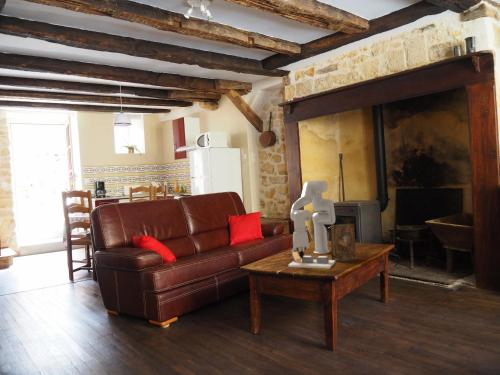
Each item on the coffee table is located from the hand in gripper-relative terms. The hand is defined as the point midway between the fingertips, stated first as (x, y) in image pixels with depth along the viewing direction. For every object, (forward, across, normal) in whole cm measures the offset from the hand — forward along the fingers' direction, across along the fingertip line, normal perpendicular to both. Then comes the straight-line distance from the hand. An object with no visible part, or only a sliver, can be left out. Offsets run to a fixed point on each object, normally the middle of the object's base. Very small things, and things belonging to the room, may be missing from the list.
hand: (301, 257), depth 274 cm
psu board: (+7, -8, -8) cm, 13 cm away
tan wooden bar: (+2, +3, -2) cm, 4 cm away
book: (+8, -32, -15) cm, 37 cm away
